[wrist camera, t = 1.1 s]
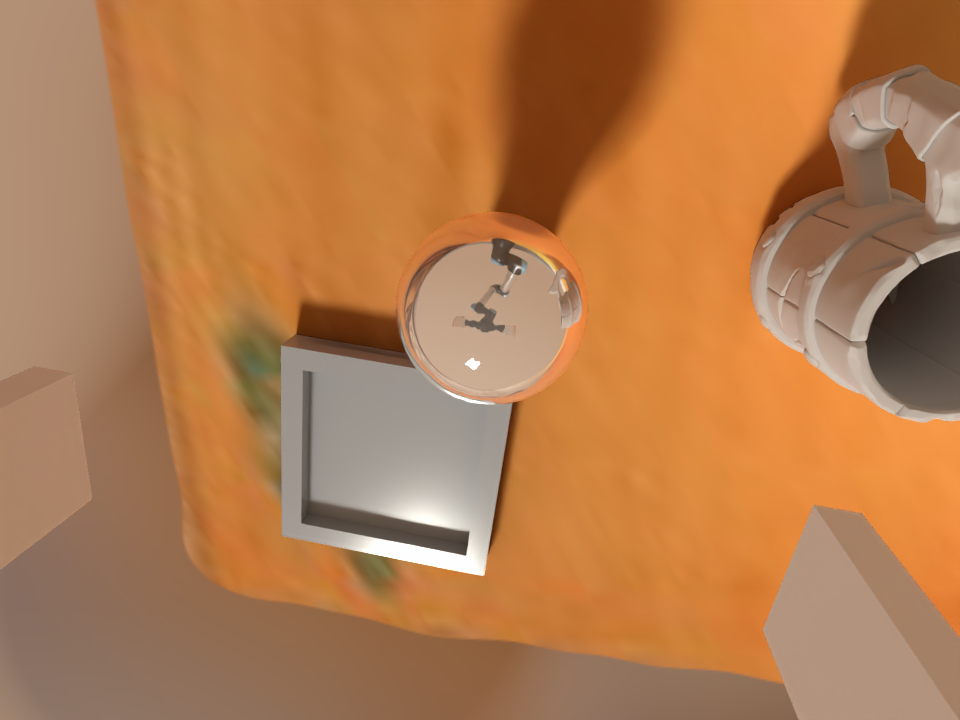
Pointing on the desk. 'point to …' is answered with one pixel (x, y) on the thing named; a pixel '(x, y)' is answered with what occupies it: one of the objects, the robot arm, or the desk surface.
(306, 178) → the desk surface
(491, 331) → the light bulb
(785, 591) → the robot arm
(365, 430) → the dish
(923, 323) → the mug
